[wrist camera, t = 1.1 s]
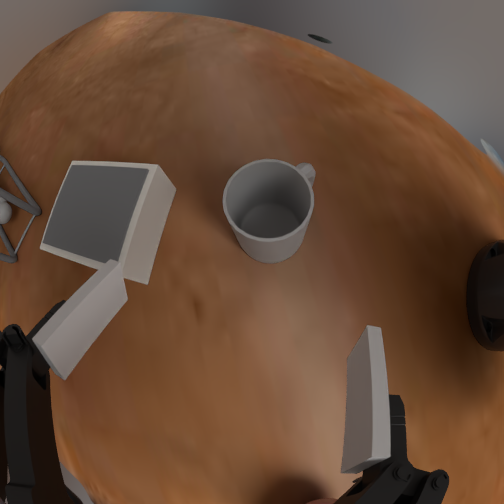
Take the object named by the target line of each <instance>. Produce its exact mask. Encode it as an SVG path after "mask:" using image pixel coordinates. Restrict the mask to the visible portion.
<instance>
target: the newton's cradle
mask: <svg viewBox="0 0 504 504" xmlns="http://www.w3.org/2000/svg"><path fill="white" fill-rule="evenodd" d="M0 161H1V162H2V163H3V164H4V165H3V167H2V169H1V171H2V170H3V168H4V166H5V167H6V169H7V170H8V172H9V174H10V175H11V177H12V178H13V180H14V182H15V183H16V185H17V186H18V188H19V189H20V191H21V192H22V194H23V195H24V197H25V198H26V200H27V201H28V203H29V204H28V203H26V202H24V201H23V200H21V199H19V198H17V197H15V196H14V195H12V194H10V193H9V192H7V191H5V190H3V189H2V188H0V235H1V238H2V240H3V242H4V244H5V246H6V248H7V250H8V252H9V254H10V256H9V255H6V254H3V253H0V260H2V261H5V262H8V263H15V262H16V261H17V255H16V253H17V250H18V248H19V246H20V244H21V242H22V240H23V238H24V236H25V234H26V232H27V230H28V228H29V226H30V225H31V223H32V221H33V219H34V217H35V216H39V215H40V214H41V209H40V207H39V206H38V205H37V203H36V202H35V201H34V199H33V198H32V197H31V195H30V194H29V193H28V191H27V190H26V188H25V187H24V186H23V184H22V183H21V181H20V180H19V178H18V177H17V175H16V174H15V172H14V171H13V169H12V168H11V166H10V165H9V163H8V161H7V160H6V159H5V158H4V157H3V156H1V155H0ZM1 171H0V173H1ZM7 201H9V202H11V203H12V204H14V205H16V206H18V207H20V208H22V209H24V210H26V211H27V212H29V213H31V214H33V217H32V219H31V220H30V222H29V224H28V226H27V228H26V230H25V232H24V234H23V236H22V238H21V240H20V242H19V244H18V246H17V248H16V250H15V251H14V250H13V248H12V246H11V244H10V242H9V240H8V238H7V236H6V234H5V232H4V230H3V228H2V226H1V224H5V223H7V222H8V221H9V220H10V219H11V216H12V209H11V207H10V205H9V204H8V203H7Z"/></svg>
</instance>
